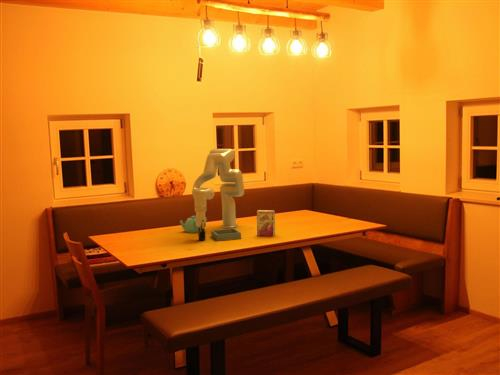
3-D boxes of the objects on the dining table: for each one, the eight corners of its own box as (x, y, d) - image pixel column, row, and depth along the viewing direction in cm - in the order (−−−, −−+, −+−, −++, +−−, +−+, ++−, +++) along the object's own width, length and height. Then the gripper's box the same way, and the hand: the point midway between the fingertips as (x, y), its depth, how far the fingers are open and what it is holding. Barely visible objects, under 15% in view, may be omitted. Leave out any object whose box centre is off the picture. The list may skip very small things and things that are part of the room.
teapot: (178, 233, 358) (177, 217, 357) (189, 228, 372) (188, 214, 371) (198, 233, 352) (197, 218, 351) (208, 229, 366) (207, 214, 365)
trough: (211, 236, 341) (211, 230, 341) (234, 234, 346) (234, 228, 345) (216, 241, 326) (216, 234, 326) (241, 238, 331) (240, 232, 330)
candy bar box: (257, 235, 338) (256, 211, 336) (259, 234, 343) (258, 209, 341) (273, 236, 334) (272, 211, 333) (275, 234, 339) (274, 210, 337)
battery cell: (198, 239, 332) (197, 226, 331) (204, 239, 333) (204, 225, 332) (199, 241, 328) (198, 227, 327) (206, 240, 329) (205, 226, 328)
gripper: (192, 207, 335) (193, 235, 337) (197, 211, 319) (198, 240, 321) (203, 206, 337) (204, 234, 339) (209, 210, 321) (210, 239, 323)
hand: (201, 236), depth 330 cm, fingers closed on battery cell, 4 cm apart
